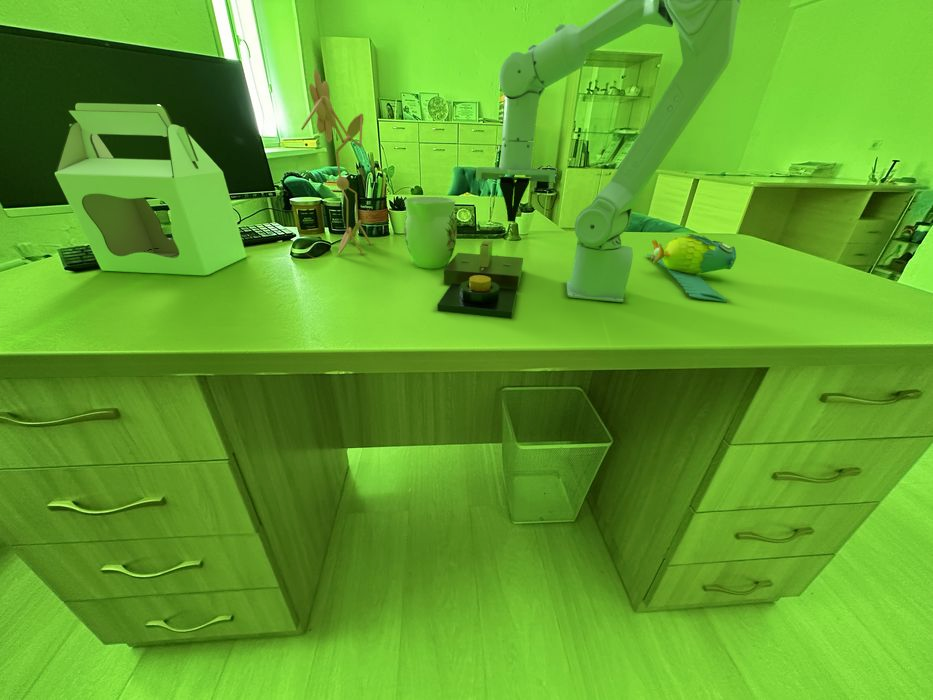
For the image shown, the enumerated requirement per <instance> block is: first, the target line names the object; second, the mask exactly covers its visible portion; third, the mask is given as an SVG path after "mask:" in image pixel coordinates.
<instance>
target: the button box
mask: <svg viewBox="0 0 933 700" xmlns="http://www.w3.org/2000/svg"><path fill="white" fill-rule="evenodd" d="M517 295H518V291H517V289H506V288H500V286H499V285H497V284H496V283H494V282H491V289H490V290H487V291H475V290H471V289H469V281H466V282H463V283H462V284H451V285H449V287H448V288H447V289H446V291H445V293H444V294H443V295H442V297H441V299H440V300H439V301H438V302H437V312H444V313H445V312H446V313H453V314H464V315H472V316H473V315H474V316H483V317H493V318H502V319H512V318H513V313H514V310H515V304H516V302H517V301H516V299H517Z"/></svg>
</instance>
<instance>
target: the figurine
mask: <svg viewBox="0 0 933 700" xmlns="http://www.w3.org/2000/svg"><path fill="white" fill-rule="evenodd" d="M313 80H314V84H312V83H311V82H310V83H309V84H308V88H309V93H310V97H311V100H312V103H313V108H312V110H311V111H310V113H308V116H307V117H306V119H305V121H304V123H303V125H302V126H301V128H300V129H301V130H302V131H304V129H305V128H306V126H307V125H308V123H309V122H310V121H311V119H312V118H313V116H314V114H316V128H317V131H318V133H319V134H323V133H325V139H326V141H327V142H328V144H330V143H331V142H332V141H333V129H334V130H335V131H336V133H337V135H338V137H339V139H340V141H341V143H342V144H341V145H340V146H339V147H337V148H336V149H335V153H334V154H335V159H336V166H337V172H338V177H337V179H336V182H335V183H336V187H338V189H340V190H341V192H342V194H343V195H344V198H345V200H346V230H345V232H344V234H343V235H342V237H341V240H340V243H339V247H338V252H337V255H341V253H342V252H343V251H344V249H345V248H346V247H347V244H348V242H351V241H352V242H353V243H354V245H355V246H356V249H357V250H358V251H359V253H360V254H361V255H363V254H364V252H363V250H362V248H361V247H360V245H359V244H358V242H357V241H356V239H355V235H356V234H357V233H358V230H359V229H360V231H361V232H362V234H363V236H364V237H365V239H366V241H367V242H368V244H369V245H370V246H371V245H372V244H373V243H372V242H371V240H370V238H369V237H368V235H367V234H366V233H367V232H366V231H365V230H364V228H363V227H362V225H361V224H362V220H361V219H359V212H358V211H359V210H358V193H357V192H356V191H355V190H354V189H352V188H350V182H349V180H348V179H347V177H345V176H342V175H341V166H340V157H339V152H340V151H341V150H342V149H343V148H344V147H345V146H346V145H347V143H348V142H353V143H354V144H355V145H356V146H358V147H359V148H362V146H363V144H362V143H363V126H364V119H365V118H364V114H363V113H359V114H358V115H357V116H355V117H354V118H353V119H352V120H351V122H350V123H349V125H348V127H347V130H346V129H345V127H344V125H343V123H342V122H341V120H340V118H339V116H338V115H337V114H336V112H335V110H334V108H333V105H332V102H331V93H330V86H329V83H328V81H326V80H324V81H323V82H322V77H321V75H320V73H319V72H318V70H317V69H314V70H313ZM337 123H338V124H337ZM338 125H339V126H340V128H341V130H342V131H343V133H344V135H345V136H346V137H343V136H342V133H341V131H340V129H339V126H338ZM358 134H359V138H358V141H357V140H355V139H354V138H355V137H356V136H358ZM347 189H348V190H349V191H351V192H352V193H354V198H355V199H354V201H355V214H356V215H355V216H356V222H355V224H354V227H353V228H352V227H350V226H349V198H348V197H347V194H346V193H345V190H347ZM373 238H374V239H379V237H376V236H373V237H372V239H373ZM315 245H316V243H314V244H311V245H309V246H306V247H305V249H306V251H305V252H307V250H309V248H311V247H313V246H315ZM303 254H304V255H306V254H305V253H303ZM308 257H310V258H313V259H315V257H314V256H311V255H310V254H308Z"/></svg>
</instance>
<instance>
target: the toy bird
mask: <svg viewBox="0 0 933 700" xmlns="http://www.w3.org/2000/svg"><path fill="white" fill-rule="evenodd" d="M651 244H652V245H653V252H652V254H649V253H648V254H646V256H648V257H649V258H650V259H649V261H652V260H653V261H652V263H653V264H654V263H658V264H659V265H661V266H662V267H663V268H664V269H666V270H667V271H668V272H669V274H671V276H672V277H673V278H674V279H675V280H676V281H678V283H679V284H680V286H682V289H684V291H685V293H686V294H688V297H691V298H695V299H699V300H705V301H708V302H722V303H728V301H727V299H726V298H725V297H724V296H723V295H722V294H719V293H718V292H717V291H716V290H715V289H713V287H712V286H710V284H709V283H707V282H706V281H705V280H704V279H703V278H702V277H701V276H700V275H699V274H706V273H710V272H716V271H721V270H732V268H733V267H734V264H735V262H736V259H737V250H736V247H735V246H730V245H729V244H726V243H724V242H722V241H717V240H712V239H709V238H707V237H705V236H704V235H701V236H700V235H697V234H696V235H695V234H693V233H687V235H686V236H681V237H676V238H673V239H672V240H670V241H669V242H668V243H667V244H666V246H665V248H664V247H663V245H662V244H661V243H659V242H658V241H657V240H656V239H651Z"/></svg>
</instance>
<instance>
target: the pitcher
mask: <svg viewBox="0 0 933 700" xmlns="http://www.w3.org/2000/svg"><path fill="white" fill-rule="evenodd" d="M403 201H404V205H405V210H406V216H405V221H404V228H403V229H404V240H405V245H406V247H407V250H408V254H409V256H410V257H411V260H412V261H413V262H414V263H415V264H416V267H419V268H422V269H428V270H429V269H430V270H431V269H433V270H434V269H441V268H445V267H447V265H448V264H449V263H450V261H451V259H452V257H453V254H454V251H455V248H456V243H457V234H458V232H457V231H458V230H457V229H458V228H457V222H456V219H455V216H454V212H455V211H454V210H455V205H456V200H455V199H453V198H450V197H442V196H441V197H440V196H416V197H414V196H413V197H408V198H405V199H404V200H403Z"/></svg>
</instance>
